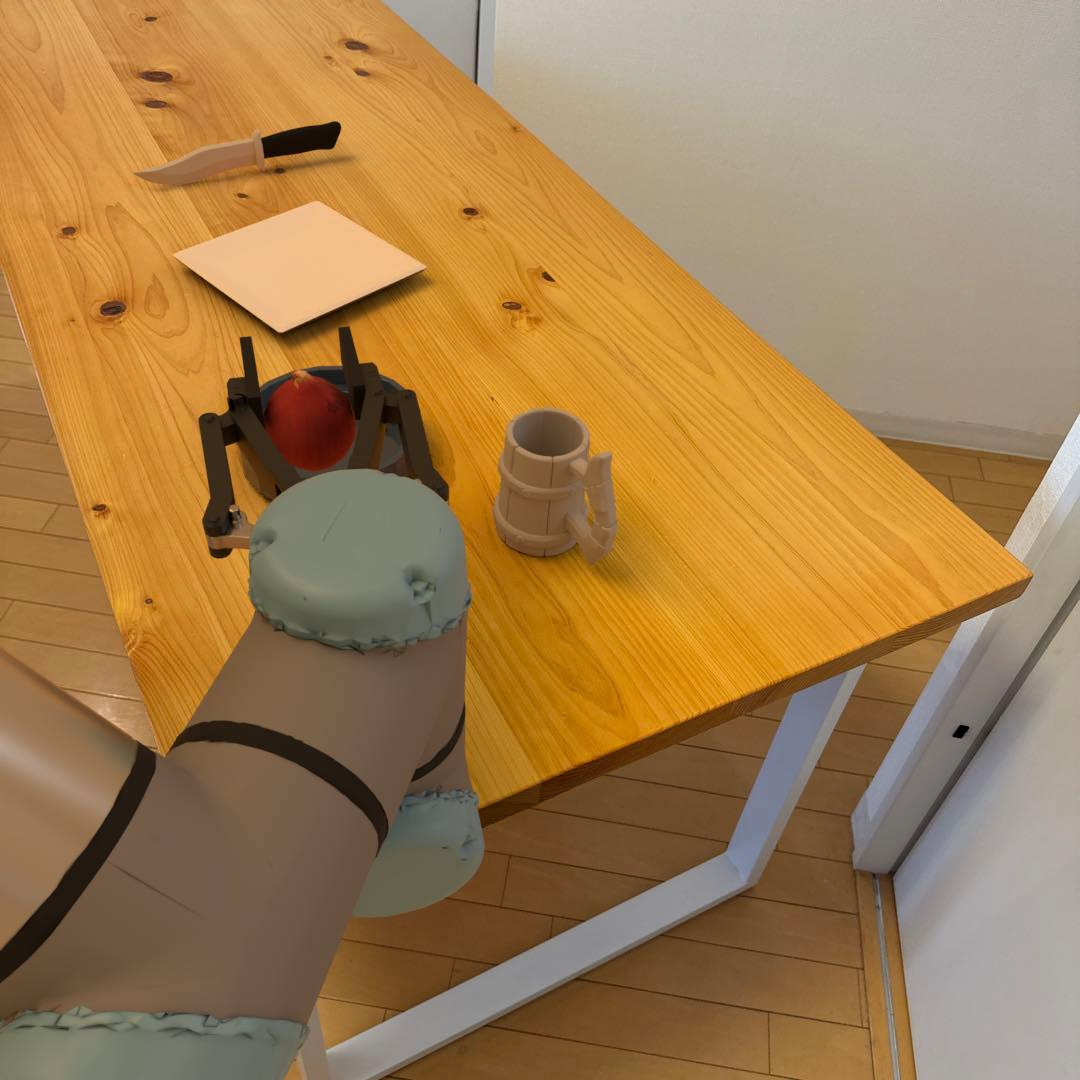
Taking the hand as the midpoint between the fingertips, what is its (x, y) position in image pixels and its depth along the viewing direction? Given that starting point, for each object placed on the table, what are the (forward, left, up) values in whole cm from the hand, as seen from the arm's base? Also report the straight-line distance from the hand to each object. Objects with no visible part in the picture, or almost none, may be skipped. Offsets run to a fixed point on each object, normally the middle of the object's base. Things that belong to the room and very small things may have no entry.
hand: (297, 349), depth 67 cm
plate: (-3, +39, -18) cm, 43 cm away
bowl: (+1, +10, -18) cm, 20 cm away
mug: (+19, -1, -18) cm, 26 cm away
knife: (-11, +62, -18) cm, 65 cm away
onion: (+1, -5, -6) cm, 8 cm away
